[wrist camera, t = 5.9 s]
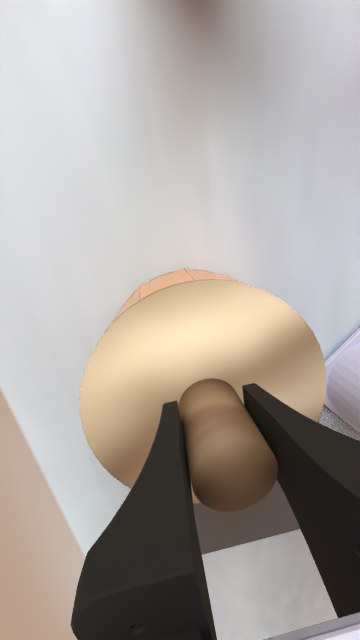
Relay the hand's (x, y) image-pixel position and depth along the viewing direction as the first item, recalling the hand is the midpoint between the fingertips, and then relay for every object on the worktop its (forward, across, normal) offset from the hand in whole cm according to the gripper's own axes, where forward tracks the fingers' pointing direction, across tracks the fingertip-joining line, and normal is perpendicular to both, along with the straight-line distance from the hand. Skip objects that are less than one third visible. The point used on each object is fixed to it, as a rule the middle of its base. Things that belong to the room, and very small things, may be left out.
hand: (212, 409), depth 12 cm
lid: (+2, 0, +1) cm, 2 cm away
